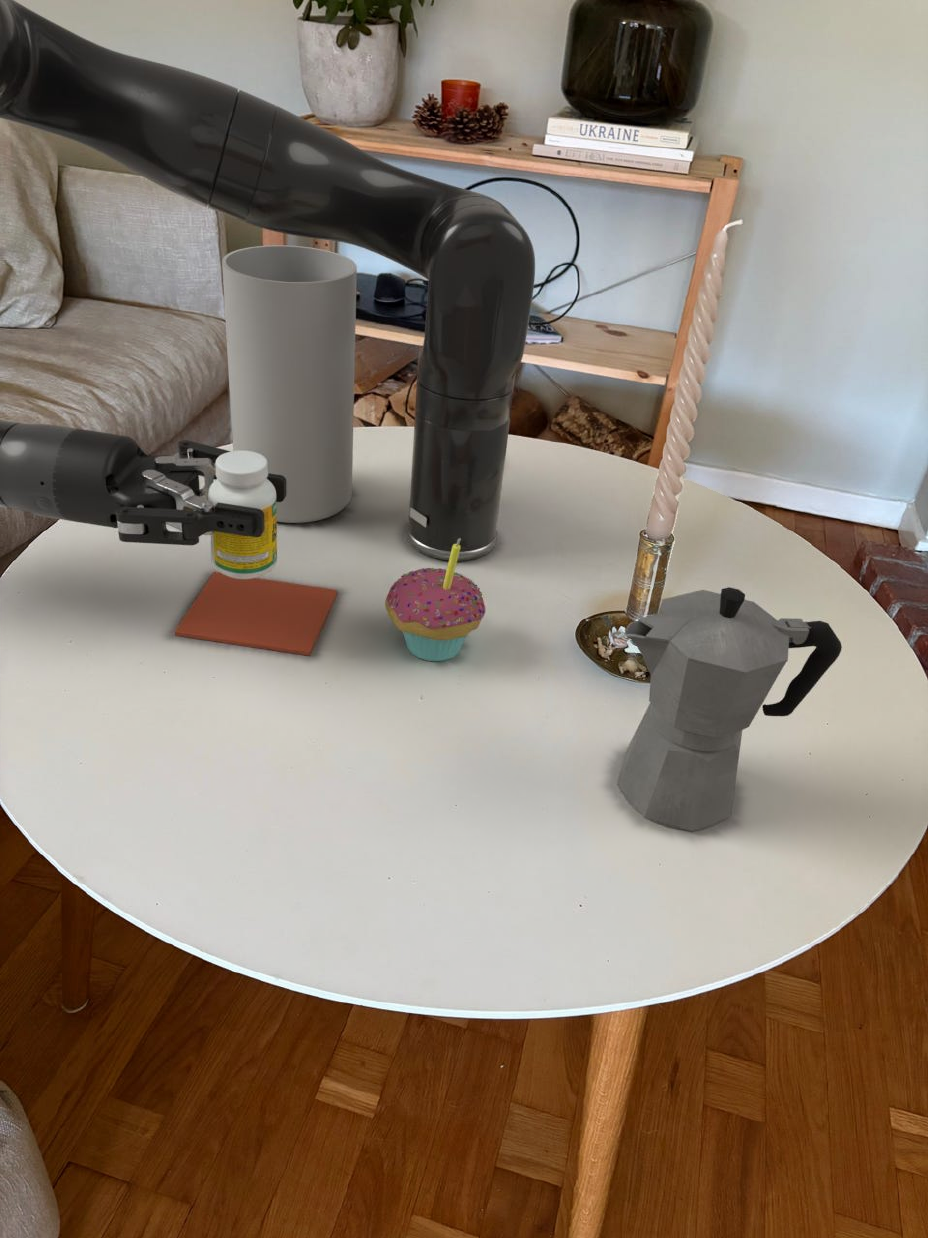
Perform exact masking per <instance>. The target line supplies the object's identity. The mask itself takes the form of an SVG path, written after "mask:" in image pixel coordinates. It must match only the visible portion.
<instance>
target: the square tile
mask: <svg viewBox="0 0 928 1238" xmlns="http://www.w3.org/2000/svg"><path fill="white" fill-rule="evenodd" d="M337 596H338V589H334V588H327V587H321V586H320V587H319V586H312V585H307V584H299V583H293V582H286V581H279V580H273V579H265V578H260V577H257V578H252V579H236V578H232V577H229V576H226V575H224V574H222V573H220V572H219V571H214V572H213V573H212V574H211V576H210V577H209V579H208V581H206V583H205V585H204V586H203V588H202V589H201V591H200V592H199V594H198V595H197V597H196V598H195V600H194V601H193V602H192V604H191V606H190V608H189V609H188V610H187V612H186V614H185V615H184V617H183V618H182V620H181V621H180V622H179V624H178V626H177V627H176V629H175V630H174V636H177V637H184V638H189V639H195V640H203V641H209V642H217V643H223V644H230V645H236V646H243V647H249V648H256V649H264V650H269V651H277V652H283V653H289V654H296V655H302V656H309V657H311V654H312V652H313V649H314V647H315V645H316V643H317V641H318V638H319V636H320V634H321V632H322V629H323V627H324V625H325V622H326V620H327V618H328V616H329V614H330V612H331V609H332V607H333V605H334V602H335V600H336V598H337Z"/></svg>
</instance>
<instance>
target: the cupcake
mask: <svg viewBox="0 0 928 1238" xmlns="http://www.w3.org/2000/svg"><path fill="white" fill-rule="evenodd" d="M460 540H461V539H460V538H459V539H458V541H457V544H453V546H452V550H451V555H450V559H449V560H448V563H447V567H446V568H440V567H439V568H434V567H425V568H418V569H416V570H412V571H409V572H408V573H403V574H402V575H400V578H398V579H397V580H396V581H394V582H393V584H392V585H391V587H390V588H389V591H388V592H387V595H386V597H385V599H384V600H385V602H384V606H385V610H386V613H387V615H388V617H389V618H390V620H391V621H392V623H393V624H394V625H395V626H396V628H397V629H398V630H399V631H400V632H401V633H402V634H403V637H404V640H405V644H406V647H407V649H408V651H409V652H410V653H411V654H412V655H413V656H414V657H416V658H419V659H420V660H425V661H429V662H443V661H446V660H450V659H452V658H454V657H455V656H457V654H458V653H459V652H460V651H461V649H462V646H463V644H464V642H465V640H466V638H467V637H468V635H469V634H470V633H471V632H472V631H475V630H476V629H478V628H479V626H480V624H481V621H482V620H483V618H484V617H485V616H486V611H487V609H486V604H485V602H484V597H483V592H482V591H481V588H480V587H478V584H475V582H474V581H473V580H472V579H470V578H469V577H467V576H465V575H463V574H461V573H459V572H455V571H456V567H457V564H458V561H457V559H458V555H459V551H460V545H459V543H460Z"/></svg>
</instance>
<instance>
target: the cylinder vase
mask: <svg viewBox="0 0 928 1238" xmlns="http://www.w3.org/2000/svg"><path fill="white" fill-rule="evenodd" d="M221 263H222V264H221V266H222V281H223V300H224V317H225V335H226V349H227V350H226V352H227V369H228V385H229V386H228V388H229V404H230V406H229V407H230V420H231V421H230V422H231V438H232V439H231V440H232V451H252V452H256V453H258V454H261V455H262V456H264V457H265V458H266V460H267V464H268V473H271V474H277V475H282V476H284V477H285V478H286V489H287V495H286V497H285V499H284V500H283V501H282V502H276V504H277V522H278V523H288V524H303V523H312V522H318V521H321V520H325V519H328V518H331V517H332V516H334V515H336V514H339V513H340V512H341V511H343V510H344V509H345V508H346V507H347V506H348V504H349V503H350V501H351V499H352V495H353V465H354V464H353V461H354V460H353V459H354V457H353V456H354V416H355V415H354V413H355V410H354V409H355V371H356V370H355V366H356V365H355V363H356V361H355V360H356V359H355V358H356V320H357V319H356V317H357V316H356V315H357V275H358V271H357V267H358V266H357V264H356V263H355V261H353V259H351V258H349V257H347V256H345V255H343V254H340V253H337V252H334V251H330V250H326V249H322V248H316V247H309V246H302V245H301V246H300V245H298V246H297V245H284V244H283V245H282V244H281V245H280V244H279V245H277V244H276V245H275V244H274V245H258V246H257V245H256V246H251V247H244V248H240V249H236V250H233V251H231V252H229V253H227V254H226V255H224V256H223V257H222V260H221Z"/></svg>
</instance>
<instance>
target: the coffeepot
mask: <svg viewBox="0 0 928 1238" xmlns="http://www.w3.org/2000/svg"><path fill="white" fill-rule="evenodd" d="M624 636H625V638H627V639H629V640H631V641H633V643H634V644H635V646H636V647H637V649H638V651H639V653H640V654H641V657H642V659H643V661H644V663H645V666H646V668H647V670H648V673H649V675H650V681H649V683H650V684H649V694H648V695H649V697H648V701H649V704H648V706H647V709H646V710H645V712H644V714H643V716H642V718H641V720H640V722H639V724H638V726H637V729H636V730H635V732H634V734H633V736H632V739H631V740H630V742H629V744H628V747H627V749H626V751H625V752H624V755H623V759H622V762H621V766H620V769H619V770H620V771H619V774H618V777H617V782H616V787H617V788H618V789H619V791H620V793H621V794H622V795H623V797H624V798H625V800H626V801H627V802H628V804H629V805H630V806H631V807H632V808H633V809H634V810H635V811H636V812H637V813H639V814H640V815H642V816H643V818H644V819H647V820H649V821H652V822H653V823H656V824H658V825H661V826H664V827H667V828H670V829H675V830H681V831H691V832H696V831H700V830H701V831H702V830H705V829H708V828H712V827H714V826H716V825H718V824H720V823H721V822H722V821H724V820H726V819H730V818H732V812H733V805H734V803H733V802H734V797H735V789H736V781H737V774H738V766H739V758H740V753H741V751H740V750H741V744H742V736H743V730H745V729H748V728H750V726H751V725H752V723H753V722H754V719H755V717H756V716H757V713H758V712H759V710H760V709H761V708H762V713H763V715H764V716H767V717H789V716H790V715H792V713H793V712H794V711H795V710H796V708H797V707H798V706H799V705H800V704H801V702H803V700H804V699H805V698H806V697H807V695H808V694H809V693H810V692H811V691H812V689H813V688H814V687H815V686H816V684H817V683H818V682H819V681H820V680H821V678H822V677H823V676H824V674H825V673H826V672H827V671H828V670H829V669H830V668H831V667H832V665H834V663H835V662H836V661H837V660H838V658H839V657H840V655H841V653H842V648H843V645H842V642H841V640H840V639H839V638H838V636H837V635H836V633H835V631H834V630H833V628H832V627H831V625H830V624H829V622H825V621H822V620H813V621H803V619H802V618H783V617H782V618H779V619H776V618H775V617H774V616H772V615H771V614H770V613H769V612H768V611H766V610H765V609H764V608H763V607H761V606H760V605H759V604H758V603H756V602H755V601H752V600H749V599H746V593H744V592H743V591H742V590H741V589H739V588H734V587H730V586H727V587H724V588H721V592H720V593H719V592H714V591H709V590H706V589H700V590H696V591H692V592H687V593H683V594H679V595H674V596H671V597H667V598H663V599H661V603H660V606H659V608H658V613H656V614H653V615H649V616H645V617H639V618H638V619H637V620H635V621H631V622H630V623H628V625H627V626H626V628H625V630H624ZM809 647H815V648H814V649H813V651H812V652H811V653H810V655H808V657H807V659H806V660H805V662H804V664H803V666H802V668H801V670H800V672H799V673H798V674H797V675H795V677H794V678H792V679H791V681H790V682H789V684H788V685H787V688H786V689H785V690H786V691H785V693H784V696H783V698H782V699H781V700H780V701H778V702H774V703H771V704H766V703H765V704H763V703H764V702H765V700H766V699H767V696H768V695H769V693H770V691H771V689H772V688H773V685H774V684H775V682H776V681H777V679H778V677H779V676H780V674H781V672H782V670H783V668H784V667H785V665H786V663H787V662H788V661H789V649H800V648H809Z"/></svg>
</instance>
